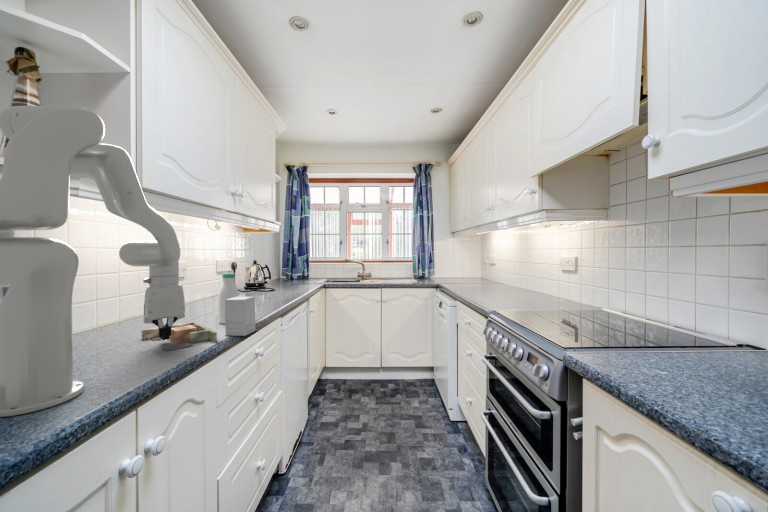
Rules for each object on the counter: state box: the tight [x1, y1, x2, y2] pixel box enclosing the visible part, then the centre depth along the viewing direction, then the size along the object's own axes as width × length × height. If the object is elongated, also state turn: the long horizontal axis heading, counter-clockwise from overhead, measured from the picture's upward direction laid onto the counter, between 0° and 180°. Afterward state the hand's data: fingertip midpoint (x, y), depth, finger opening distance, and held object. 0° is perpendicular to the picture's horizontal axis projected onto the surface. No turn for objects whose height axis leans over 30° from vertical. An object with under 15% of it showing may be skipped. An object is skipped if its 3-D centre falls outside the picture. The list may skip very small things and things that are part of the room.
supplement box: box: [224, 296, 256, 337], centre depth 107 cm, size 7×7×13 cm
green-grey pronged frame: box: [141, 321, 218, 344], centre depth 98 cm, size 16×22×3 cm
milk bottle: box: [217, 272, 240, 325], centre depth 124 cm, size 8×8×20 cm
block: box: [169, 325, 197, 344], centre depth 99 cm, size 6×6×4 cm
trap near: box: [161, 341, 194, 353], centre depth 91 cm, size 7×4×1 cm, turn 138°
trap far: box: [150, 336, 170, 342], centre depth 101 cm, size 7×4×1 cm, turn 138°
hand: (164, 338), depth 95 cm, fingers closed
